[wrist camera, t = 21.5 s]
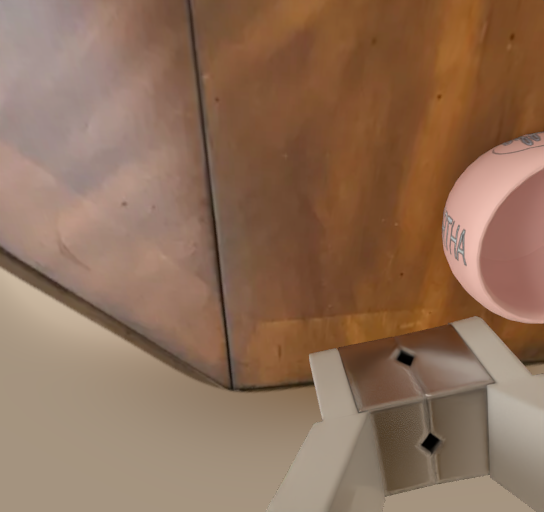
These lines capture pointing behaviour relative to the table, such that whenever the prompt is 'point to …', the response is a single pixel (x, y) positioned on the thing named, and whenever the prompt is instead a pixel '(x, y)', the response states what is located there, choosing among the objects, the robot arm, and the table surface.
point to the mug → (500, 229)
